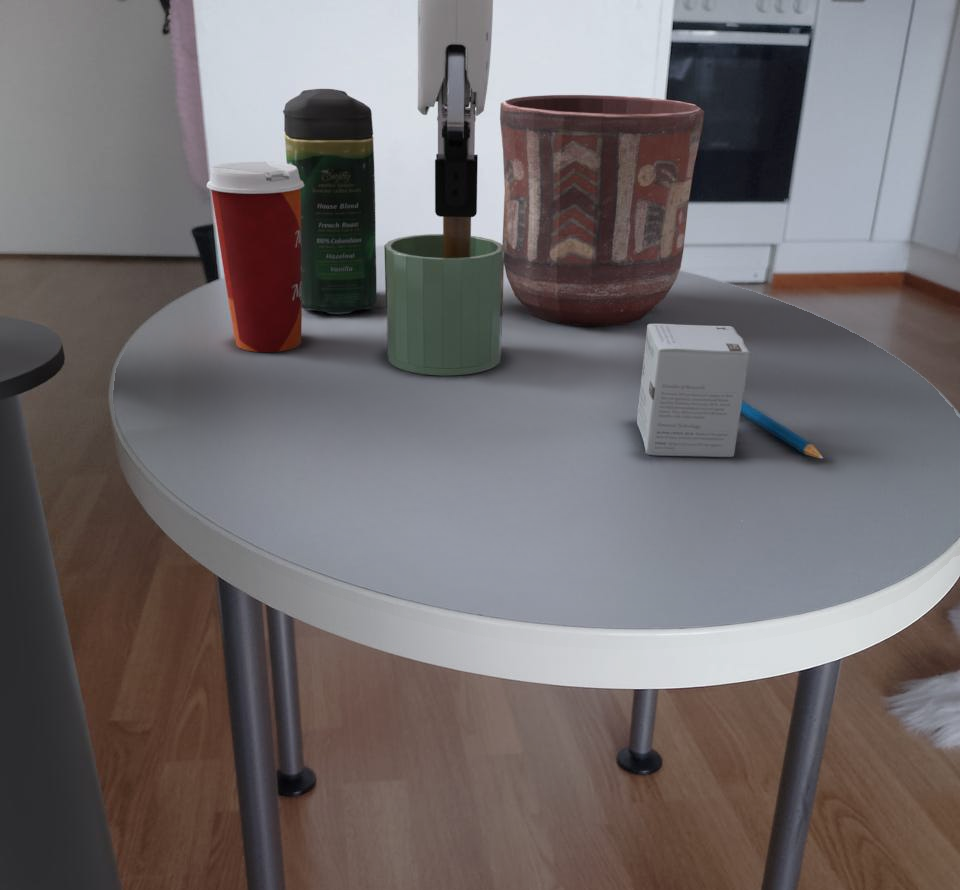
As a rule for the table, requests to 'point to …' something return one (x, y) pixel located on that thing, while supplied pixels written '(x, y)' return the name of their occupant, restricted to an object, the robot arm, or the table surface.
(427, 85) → the robot arm
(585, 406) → the table surface
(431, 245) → the jar
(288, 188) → the paper cup
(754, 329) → the table surface
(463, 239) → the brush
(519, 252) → the pottery
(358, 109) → the coffee jar
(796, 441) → the pencil
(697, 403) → the white cardboard box
